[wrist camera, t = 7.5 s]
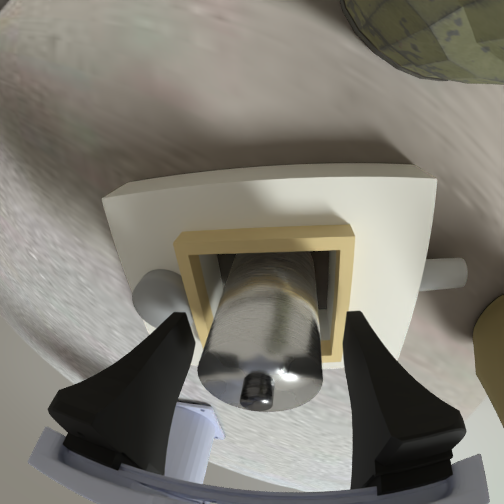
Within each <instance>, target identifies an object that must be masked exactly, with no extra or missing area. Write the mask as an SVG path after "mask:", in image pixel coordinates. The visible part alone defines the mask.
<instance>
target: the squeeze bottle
mask: <svg viewBox="0 0 504 504" xmlns="http://www.w3.org/2000/svg"><path fill="white" fill-rule="evenodd" d="M473 345H474V355H475V368H476V375H477V377H478V379H479V380H480V382H481V384H482V386H483V388H484V389H485V391H486V393H487V395H488V397H489V399H490V401H491V403H492V405H493V407H494V409H495V410H496V413H497V414H498V417H499V419H500V421H501V423H502V425H503V427H504V295H502V296H500V297H498V298H497V299H496V300H495V301H493V302H492V303H491V304H490V305H489V306H488V307H487V308H486V309H485V311H484V312H483V313H482V314H481V316H480V317H479V319H478V321H477V323H476V325H475V327H474V330H473Z"/></svg>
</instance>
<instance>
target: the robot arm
mask: <svg viewBox="0 0 504 504" xmlns="http://www.w3.org/2000/svg"><path fill="white" fill-rule="evenodd" d="M195 344H196V342H195V339H194V336H193V333H192V330H191V327H190V324H189V321H188V317H187V314H186V312H173V313H172V314H171V315H170V316H169V317H168V318H167V319H166V320H165V321H164V322H163V323H161V324H160V325H159V326H158V327H157V328H156V329H155V330H154V331H153V332H152V333H151V334H150V335H149V336H148V337H147V338H146V339H145V340H143V341H142V342H141V343H140V344H139V345H138V346H136V347H135V348H134V349H133V350H132V351H131V352H129V353H128V354H127V355H125V356H124V357H123V358H121V359H120V360H119V361H117V362H116V363H114V364H113V365H111V366H110V367H108V368H106V369H105V370H103V371H101V372H100V373H98V374H96V375H94V376H92V377H90V378H88V379H86V380H84V381H82V382H80V383H77V384H75V385H72V386H69V387H66V388H64V389H61V390H59V391H58V392H57V394H56V396H55V397H54V399H53V401H52V403H51V404H50V406H49V408H48V411H49V414H50V415H51V416H52V418H53V419H54V420H55V421H56V422H57V423H58V424H59V425H60V426H61V427H63V428H64V429H65V430H66V431H67V432H68V434H67V436H66V437H65V436H64V435H62V434H61V433H59V432H57V431H55V430H53V429H51V428H49V427H45V429H44V431H43V432H42V434H41V436H40V438H39V440H38V442H37V444H36V446H35V448H34V450H33V452H32V454H31V456H30V458H29V460H28V464H30V465H31V466H33V467H34V468H36V469H37V470H39V471H40V472H42V473H43V474H45V475H46V476H48V477H49V478H51V479H53V480H54V481H56V482H57V483H59V484H61V485H63V486H64V487H66V488H68V489H70V490H71V491H73V492H75V493H77V494H79V495H81V496H83V497H85V498H86V499H88V500H90V501H93V502H95V503H97V504H210V502H212V503H218V504H488V503H489V502H490V500H489V493H488V487H487V481H486V476H485V471H484V467H483V462H482V457H481V454H477V455H475V456H472V457H469V458H466V459H464V460H461V461H458V462H456V463H454V464H452V465H451V461H450V459H451V458H452V457H453V454H452V449H453V448H454V447H455V446H456V445H457V444H458V443H459V442H460V441H461V440H462V439H463V437H464V436H465V434H466V428H465V424H464V421H463V418H462V416H461V414H460V411H459V410H457V409H455V408H454V407H452V406H450V405H449V404H447V403H445V402H444V401H442V400H441V399H439V398H438V397H436V396H435V395H434V394H432V393H431V392H430V391H428V390H427V389H426V388H425V387H424V386H422V385H421V384H420V383H419V382H417V381H416V380H415V379H414V378H413V377H412V376H411V375H410V374H409V373H408V372H407V371H406V370H405V369H404V368H403V367H402V366H401V365H400V364H399V363H398V361H397V360H396V359H395V358H394V357H393V355H392V354H391V353H390V352H389V351H388V349H387V348H386V347H385V345H384V344H383V343H382V341H381V340H380V339H379V337H378V336H377V334H376V333H375V332H374V330H373V329H372V327H371V326H370V324H369V323H368V321H367V319H366V318H365V316H364V315H363V313H362V312H361V311H347V313H346V321H345V329H344V336H343V343H342V345H343V359H344V368H345V373H346V379H347V384H348V390H349V396H350V402H351V409H352V429H353V455H352V477H351V489H350V490H341V491H327V492H299V493H298V492H295V493H294V492H265V491H251V490H241V489H232V488H224V487H217V486H211V485H205V484H203V480H204V476H205V473H206V468H207V464H208V460H209V456H210V452H211V447H212V443H213V439H221V440H223V439H225V435H224V433H223V431H222V428H221V426H220V424H219V422H218V420H217V417H216V415H215V413H214V411H213V408H212V407H210V406H205V405H197V404H189V403H182V402H177V400H178V397H179V394H180V392H181V389H182V386H183V384H184V381H185V378H186V376H187V373H188V370H189V368H190V365H191V362H192V358H193V354H194V349H195Z"/></svg>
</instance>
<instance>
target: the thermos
mask: <svg viewBox="0 0 504 504" xmlns="http://www.w3.org/2000/svg"><path fill="white" fill-rule="evenodd" d="M340 2H341V6H342V10H343V13H344V14H345V16H346V18H347V19H348V21H349V23H350V24H351V26H352V28H353V30H354V31H355V33H356V34H357V35H358V36H359V37H360V38H361V39H362V40H363V41H364V42H365V44H366V45H367V46H368V47H369V48H370V49H371V50H372V51H373V52H374V53H375V54H376V55H378V56H379V57H381V58H382V59H384V60H385V61H386V62H388V63H389V64H391V65H392V66H393V67H395V68H396V69H398V70H401V71H403V72H406V73H408V74H411V75H413V76H415V77H418V78H420V79H429V80H437V81H448V80H451V81H457V82H462V83H471V84H500V85H504V0H340Z"/></svg>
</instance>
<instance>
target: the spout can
mask: <svg viewBox="0 0 504 504" xmlns="http://www.w3.org/2000/svg"><path fill="white" fill-rule="evenodd" d="M197 371H198V376H199V379H200V381H201V383H202V384H203V386H204V387H205V388H206V389H207V390H208V391H209V392H210V393H211V394H212V395H214V396H215V397H217V398H218V399H220V400H221V401H223V402H225V403H228V404H230V405H232V406H235V407H238V408H242V409H246V410H251V411H259V412H276V411H284V410H289V409H293V408H296V407H299V406H301V405H303V404H305V403H307V402H308V401H310V400H311V399H313V398H314V397H315V396H316V395H317V394H318V392H319V391H320V389H321V386H322V382H323V374H322V355H321V339H320V325H319V312H318V300H317V289H316V279H315V269H314V262H313V258H312V256H311V254H310V252H309V251H295V252H265V253H237V254H236V256H235V259H234V262H233V265H232V268H231V270H230V273H229V276H228V279H227V282H226V285H225V288H224V290H223V293H222V296H221V299H220V302H219V305H218V308H217V311H216V314H215V317H214V319H213V322H212V325H211V328H210V331H209V334H208V337H207V340H206V343H205V346H204V349H203V352H202V355H201V358H200V361H199V364H198V370H197Z"/></svg>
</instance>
